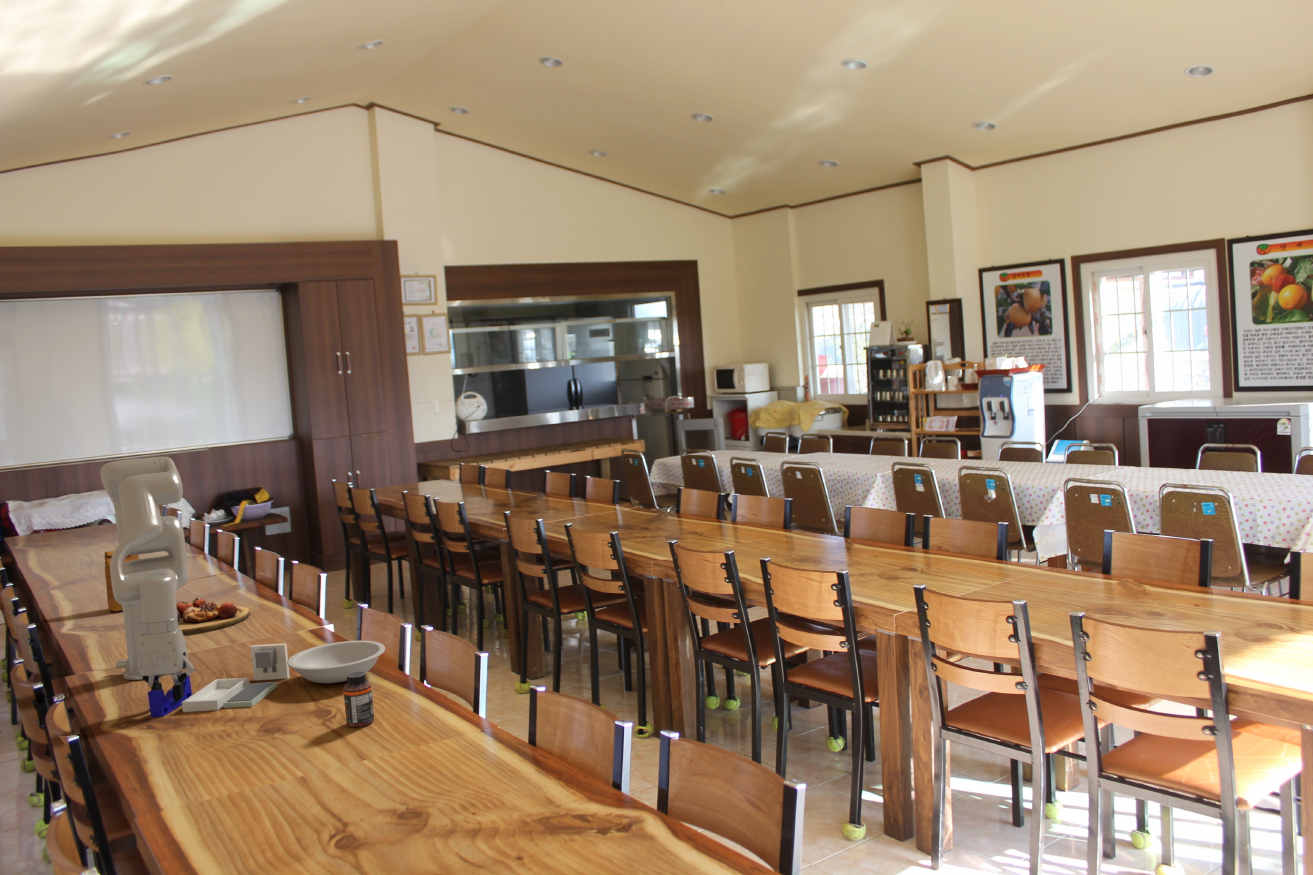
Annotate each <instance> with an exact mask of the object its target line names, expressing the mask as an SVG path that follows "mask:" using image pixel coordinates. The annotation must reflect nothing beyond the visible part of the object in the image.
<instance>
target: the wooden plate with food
mask: <svg viewBox="0 0 1313 875" xmlns="http://www.w3.org/2000/svg"><path fill="white" fill-rule="evenodd" d="M176 608H177V617H178V627H179V629H181V630H182V633H183V635H189V634H197V633H203V632H207V631H212V630H216V629H221V628H226V627H229V626H232V625H235V624H238V623H240V622H243V621H245V620H246V619H248V618H249V616H251V611H250V609H249V608H248V607H246V606H240V605H239V606H238V605H237V606H236V605H235V604H233V602H225V603H222V604H216V603H214V602H208V603H207V602H206V600H205V599H204V598H201V597H200V598H198V597H196V598H195V599H193V600H192V602H187V601H182V602H180V601H179V602H178V603H176Z"/></svg>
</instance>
